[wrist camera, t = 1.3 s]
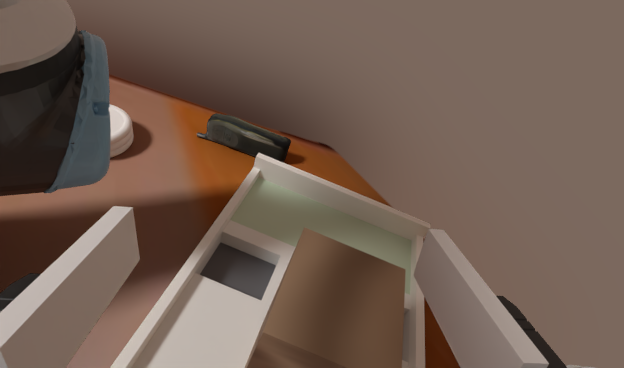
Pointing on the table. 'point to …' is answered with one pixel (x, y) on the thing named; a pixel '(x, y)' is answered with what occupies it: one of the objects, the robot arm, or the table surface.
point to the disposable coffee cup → (573, 367)
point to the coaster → (120, 131)
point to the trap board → (269, 268)
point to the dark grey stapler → (245, 137)
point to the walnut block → (333, 310)
